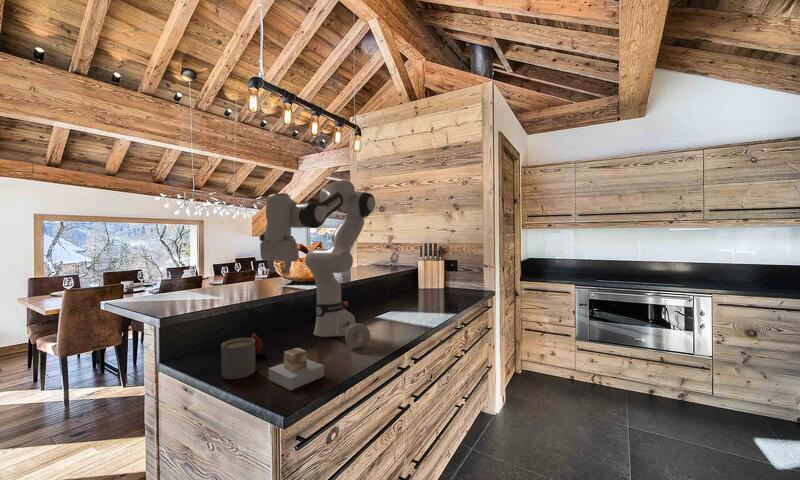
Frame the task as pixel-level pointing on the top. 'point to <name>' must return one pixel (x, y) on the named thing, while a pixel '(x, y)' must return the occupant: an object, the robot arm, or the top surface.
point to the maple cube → (295, 359)
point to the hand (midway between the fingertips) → (279, 272)
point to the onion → (257, 343)
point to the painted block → (296, 375)
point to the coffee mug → (238, 358)
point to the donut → (352, 330)
